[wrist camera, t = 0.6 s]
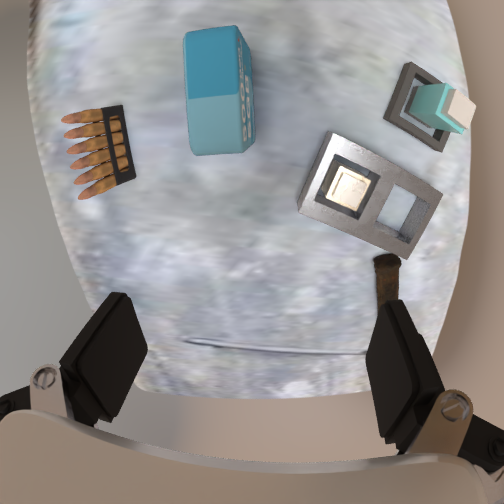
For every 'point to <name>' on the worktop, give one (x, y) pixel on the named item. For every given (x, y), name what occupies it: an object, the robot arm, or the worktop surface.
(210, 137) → the data package
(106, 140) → the ammunition clip
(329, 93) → the worktop surface
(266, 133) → the worktop surface
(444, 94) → the plug
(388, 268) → the hand tool
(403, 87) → the dark square frame
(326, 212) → the port
